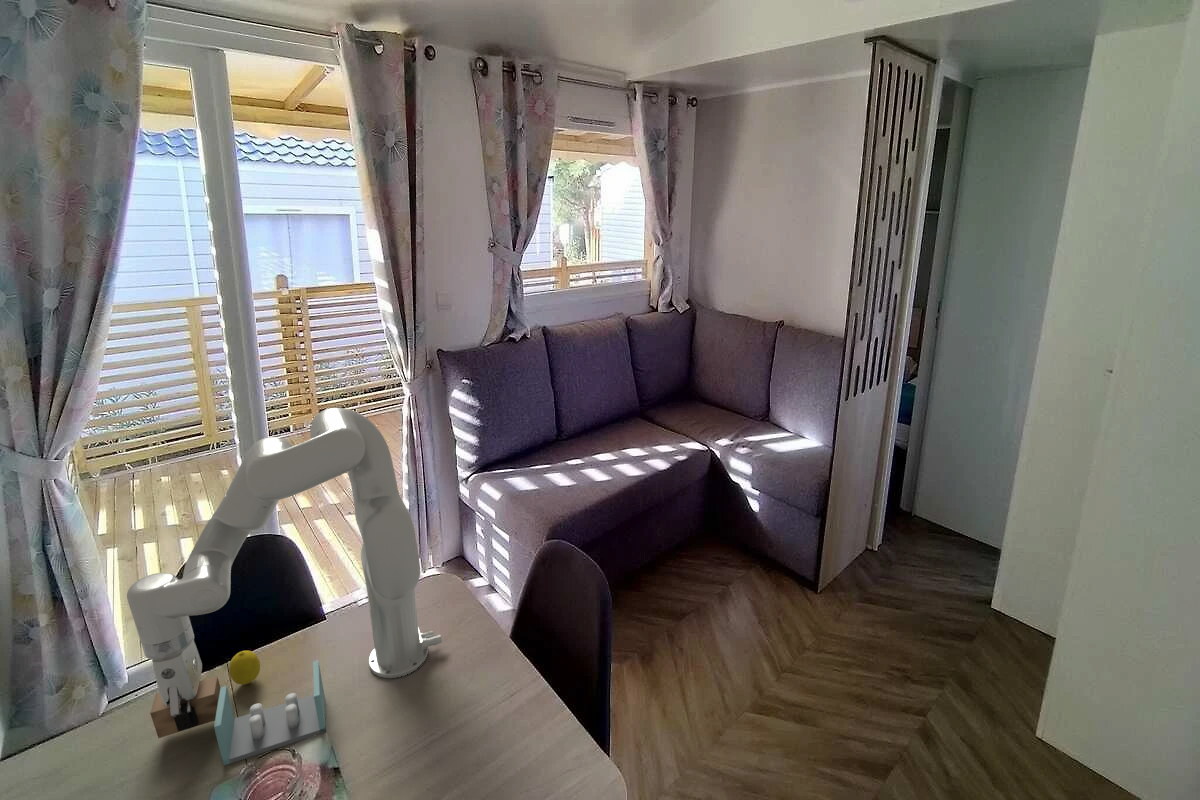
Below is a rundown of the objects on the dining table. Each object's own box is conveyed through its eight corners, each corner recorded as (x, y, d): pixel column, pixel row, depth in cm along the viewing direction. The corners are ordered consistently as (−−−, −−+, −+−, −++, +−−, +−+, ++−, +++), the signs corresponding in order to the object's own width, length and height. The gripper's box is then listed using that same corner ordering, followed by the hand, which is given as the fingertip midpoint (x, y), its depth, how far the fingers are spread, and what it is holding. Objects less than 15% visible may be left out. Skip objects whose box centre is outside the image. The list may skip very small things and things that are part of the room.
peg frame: (324, 695, 123) (318, 659, 120) (326, 731, 114) (319, 694, 112) (229, 724, 116) (220, 687, 113) (223, 765, 107) (214, 726, 105)
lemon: (249, 695, 123) (242, 663, 120) (226, 690, 124) (219, 659, 122) (269, 675, 128) (262, 645, 126) (246, 671, 129) (240, 641, 127)
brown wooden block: (223, 699, 118) (217, 675, 116) (221, 718, 114) (214, 693, 112) (163, 718, 114) (155, 693, 112) (158, 738, 110) (150, 713, 108)
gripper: (184, 663, 102) (208, 743, 108) (199, 605, 117) (219, 679, 123) (131, 677, 99) (158, 759, 105) (153, 616, 114) (175, 691, 120)
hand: (190, 715), depth 114 cm, fingers closed on brown wooden block, 5 cm apart
